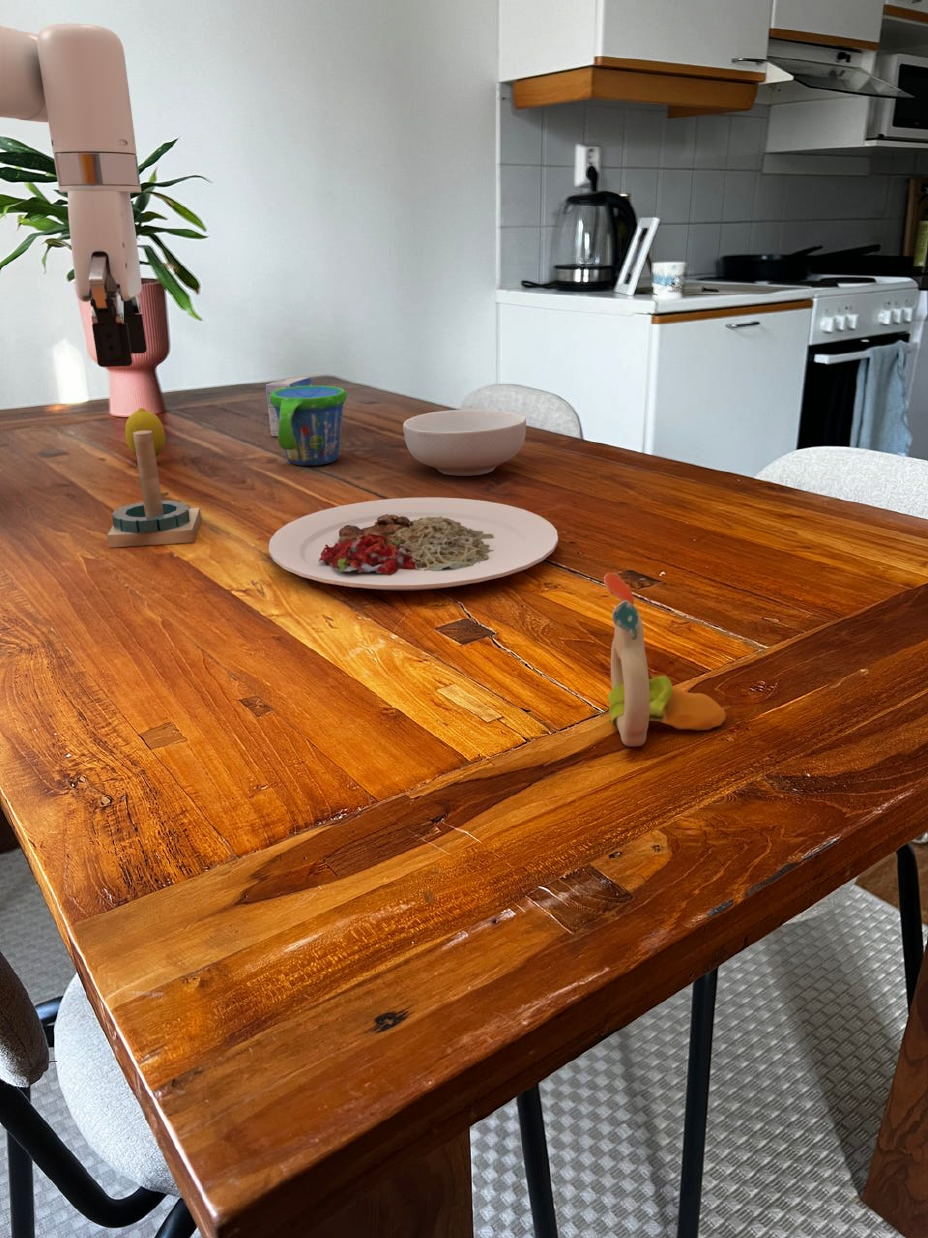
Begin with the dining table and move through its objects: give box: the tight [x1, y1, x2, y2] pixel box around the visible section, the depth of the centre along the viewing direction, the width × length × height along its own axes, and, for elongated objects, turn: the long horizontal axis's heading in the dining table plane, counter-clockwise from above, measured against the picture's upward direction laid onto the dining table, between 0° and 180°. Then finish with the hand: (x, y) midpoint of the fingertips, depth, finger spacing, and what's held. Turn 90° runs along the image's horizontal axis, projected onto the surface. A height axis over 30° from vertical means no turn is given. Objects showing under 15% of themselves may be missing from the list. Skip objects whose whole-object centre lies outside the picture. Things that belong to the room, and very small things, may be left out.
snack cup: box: [270, 385, 348, 467], centre depth 139 cm, size 16×10×10 cm
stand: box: [106, 431, 202, 549], centre depth 107 cm, size 9×9×12 cm
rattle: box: [603, 572, 727, 748], centre depth 63 cm, size 8×8×12 cm
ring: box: [111, 499, 191, 533], centre depth 108 cm, size 8×8×1 cm
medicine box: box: [265, 376, 313, 438], centre depth 159 cm, size 8×4×9 cm, turn 162°
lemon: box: [124, 407, 166, 457], centre depth 141 cm, size 6×6×8 cm
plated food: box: [268, 496, 559, 591], centre depth 101 cm, size 30×30×3 cm
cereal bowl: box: [402, 409, 527, 477], centre depth 134 cm, size 17×17×7 cm
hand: (123, 359), depth 99 cm, fingers open, 9 cm apart
